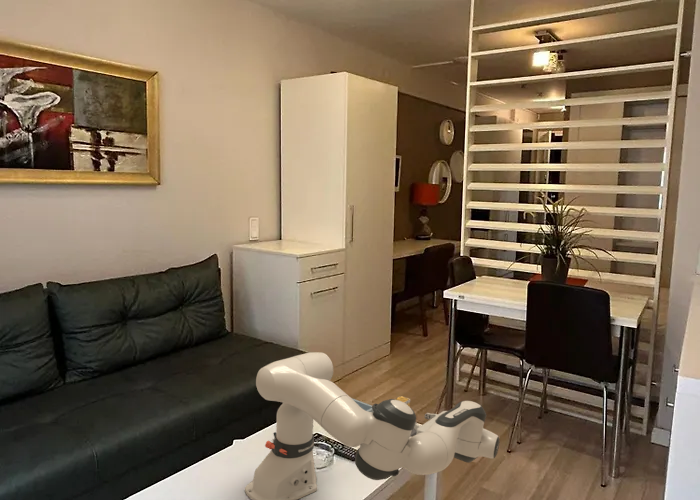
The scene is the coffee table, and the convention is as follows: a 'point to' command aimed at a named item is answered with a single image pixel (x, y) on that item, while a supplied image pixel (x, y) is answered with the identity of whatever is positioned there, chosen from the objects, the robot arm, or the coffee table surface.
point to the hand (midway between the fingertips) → (418, 419)
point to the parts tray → (364, 406)
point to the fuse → (404, 400)
